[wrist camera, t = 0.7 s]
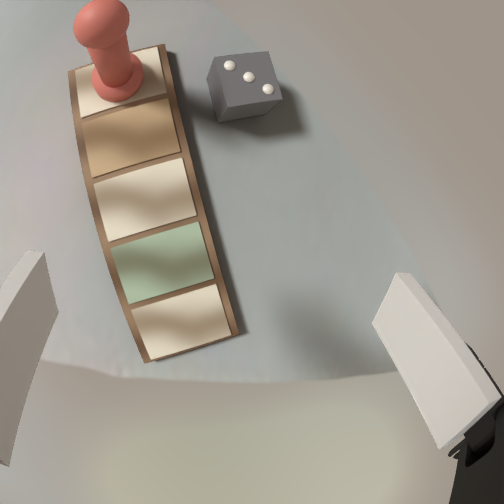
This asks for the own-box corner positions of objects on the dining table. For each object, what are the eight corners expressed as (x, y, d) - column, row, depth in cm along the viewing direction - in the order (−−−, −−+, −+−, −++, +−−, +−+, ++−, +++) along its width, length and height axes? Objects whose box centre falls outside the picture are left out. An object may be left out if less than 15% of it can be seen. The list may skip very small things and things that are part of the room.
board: (70, 76, 24) (67, 70, 22) (164, 49, 26) (164, 42, 24) (145, 358, 29) (144, 364, 28) (236, 330, 32) (239, 335, 30)
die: (206, 78, 28) (214, 56, 23) (253, 72, 29) (268, 50, 24) (217, 123, 29) (227, 107, 24) (265, 114, 30) (283, 98, 25)
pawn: (92, 67, 23) (60, -4, 11) (139, 53, 24) (132, -25, 12) (98, 108, 24) (60, 49, 12) (147, 94, 25) (139, 24, 13)
